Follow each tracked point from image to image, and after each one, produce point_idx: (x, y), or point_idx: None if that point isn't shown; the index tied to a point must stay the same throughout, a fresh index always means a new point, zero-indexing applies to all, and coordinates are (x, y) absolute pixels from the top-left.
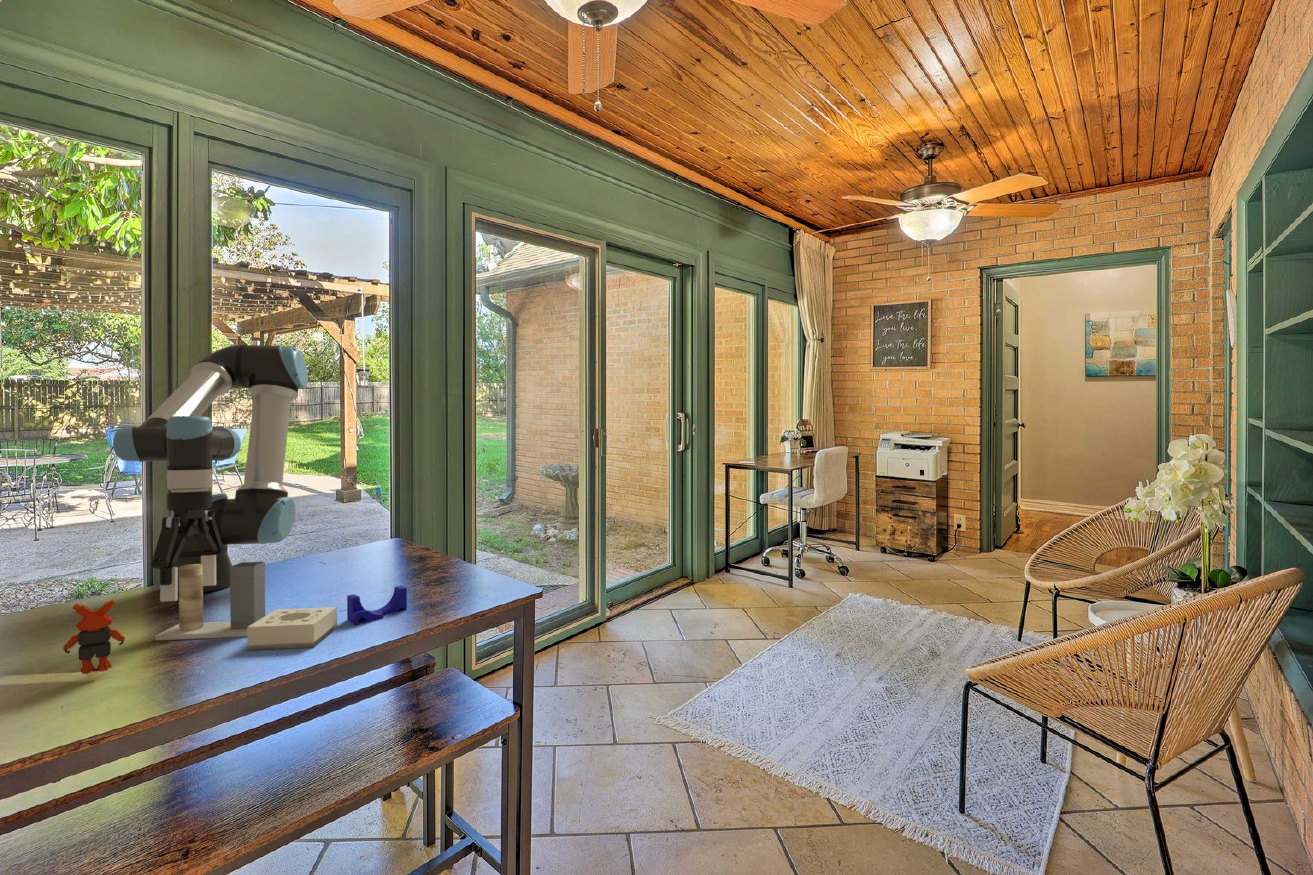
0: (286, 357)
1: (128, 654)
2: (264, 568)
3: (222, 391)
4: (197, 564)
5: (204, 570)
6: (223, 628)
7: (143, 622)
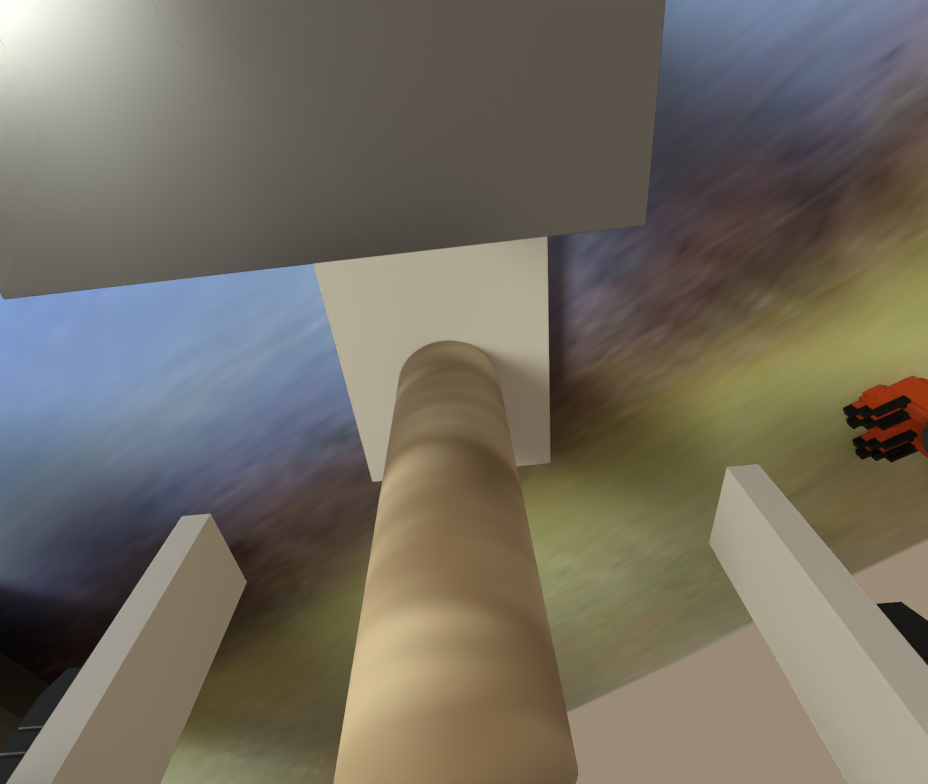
0: None
1: (719, 426)
2: None
3: None
4: (367, 776)
5: (177, 693)
6: None
7: (315, 615)
